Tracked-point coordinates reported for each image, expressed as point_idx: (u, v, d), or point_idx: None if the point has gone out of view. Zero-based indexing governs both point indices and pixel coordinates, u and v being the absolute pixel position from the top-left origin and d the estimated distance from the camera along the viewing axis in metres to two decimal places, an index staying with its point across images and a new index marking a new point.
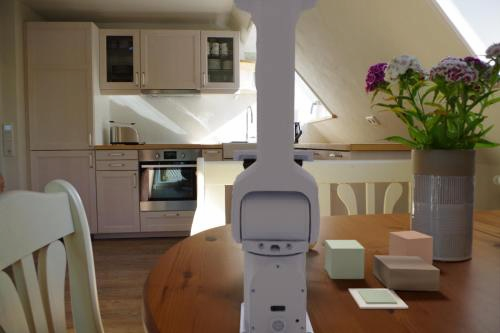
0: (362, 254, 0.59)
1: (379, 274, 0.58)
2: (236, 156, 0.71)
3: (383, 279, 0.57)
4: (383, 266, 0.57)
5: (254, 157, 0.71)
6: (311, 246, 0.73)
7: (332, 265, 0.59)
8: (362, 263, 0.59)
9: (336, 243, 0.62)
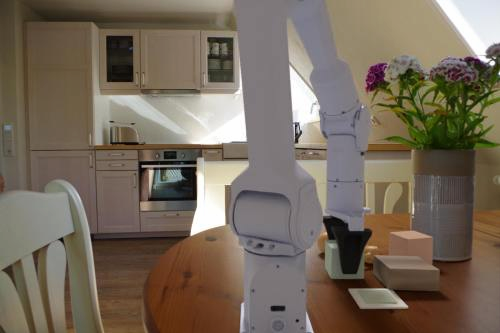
0: (362, 254, 0.59)
1: (379, 274, 0.58)
2: None
3: (383, 279, 0.57)
4: (383, 266, 0.57)
5: None
6: None
7: (332, 265, 0.59)
8: (362, 263, 0.59)
9: (336, 243, 0.62)
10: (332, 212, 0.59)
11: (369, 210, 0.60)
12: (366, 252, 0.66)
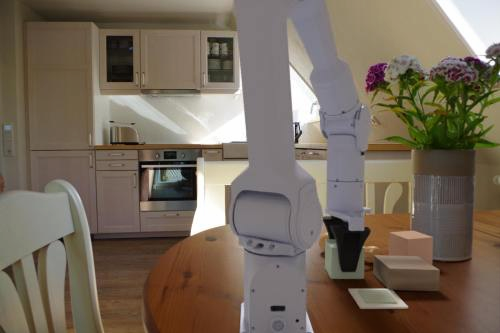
0: (362, 253, 0.59)
1: (379, 274, 0.58)
2: None
3: (383, 279, 0.57)
4: (383, 266, 0.57)
5: None
6: None
7: (332, 264, 0.59)
8: (362, 262, 0.59)
9: None
10: (332, 212, 0.59)
11: (369, 210, 0.60)
12: (368, 250, 0.67)
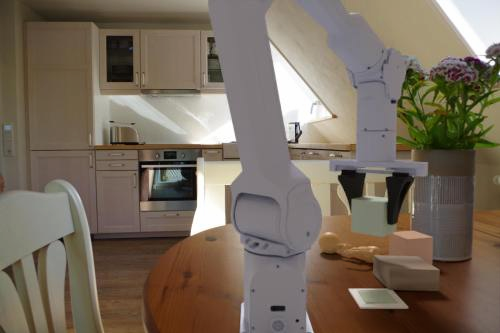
0: None
1: (379, 274, 0.58)
2: (332, 166, 0.62)
3: (383, 279, 0.57)
4: (383, 266, 0.57)
5: (353, 168, 0.61)
6: None
7: (383, 220, 0.56)
8: None
9: (369, 199, 0.58)
10: (384, 163, 0.55)
11: None
12: (368, 250, 0.67)
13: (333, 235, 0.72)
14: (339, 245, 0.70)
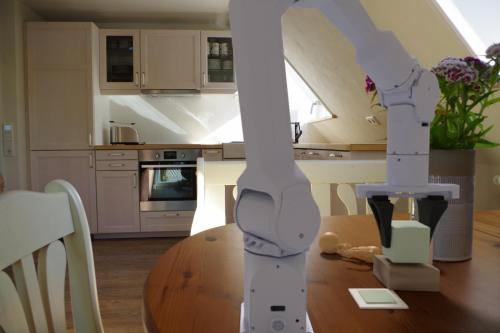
0: None
1: (379, 273, 0.58)
2: (362, 192, 0.56)
3: (383, 279, 0.57)
4: (384, 266, 0.57)
5: (383, 193, 0.57)
6: None
7: (428, 246, 0.55)
8: None
9: (406, 225, 0.56)
10: (430, 188, 0.55)
11: None
12: (368, 250, 0.67)
13: (333, 235, 0.72)
14: (339, 245, 0.70)
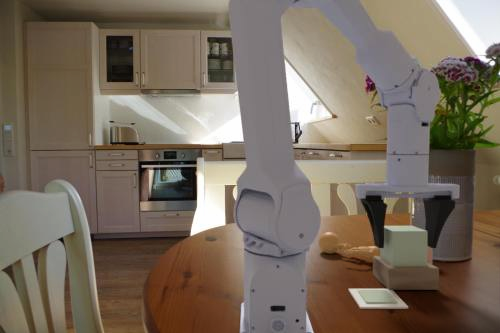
0: None
1: (379, 274, 0.58)
2: (363, 192, 0.56)
3: (383, 279, 0.57)
4: (383, 266, 0.57)
5: (383, 193, 0.57)
6: None
7: (426, 249, 0.56)
8: None
9: (404, 229, 0.57)
10: (430, 188, 0.55)
11: None
12: (368, 250, 0.67)
13: (333, 235, 0.72)
14: (339, 245, 0.70)
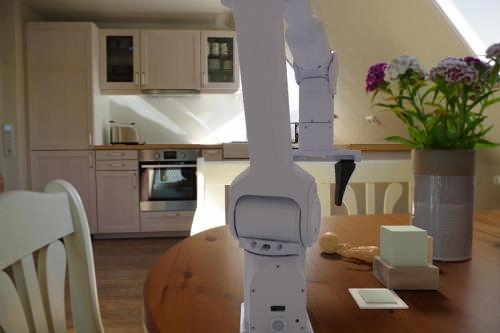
0: None
1: (379, 274, 0.58)
2: None
3: (383, 279, 0.57)
4: (383, 266, 0.57)
5: (295, 158, 0.64)
6: None
7: (426, 249, 0.56)
8: None
9: (404, 229, 0.57)
10: (332, 151, 0.62)
11: None
12: (368, 250, 0.67)
13: (333, 235, 0.72)
14: (339, 245, 0.70)
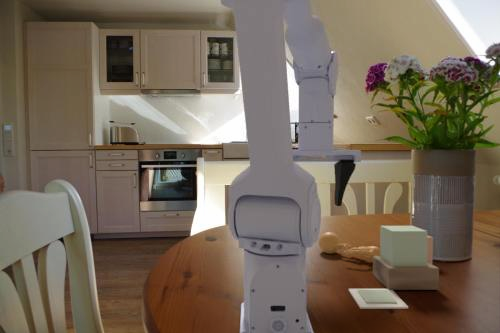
0: None
1: (379, 274, 0.58)
2: None
3: (383, 279, 0.57)
4: (383, 266, 0.57)
5: (295, 158, 0.64)
6: None
7: (426, 249, 0.56)
8: None
9: (404, 229, 0.57)
10: (332, 151, 0.62)
11: None
12: (368, 250, 0.67)
13: (333, 235, 0.72)
14: (339, 245, 0.70)
